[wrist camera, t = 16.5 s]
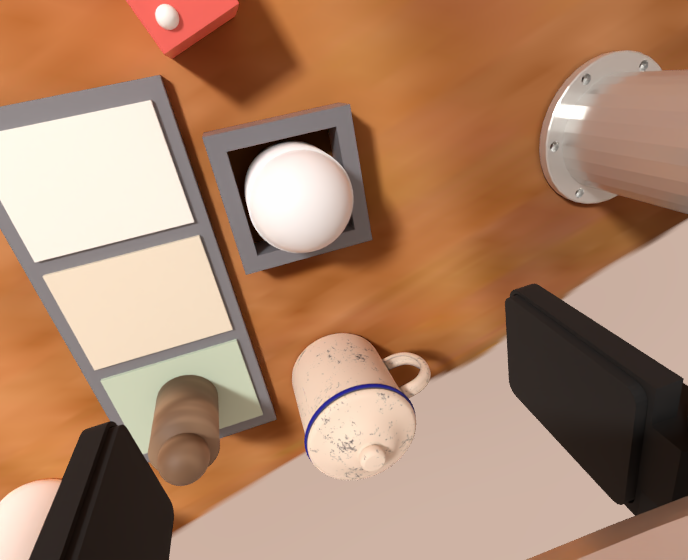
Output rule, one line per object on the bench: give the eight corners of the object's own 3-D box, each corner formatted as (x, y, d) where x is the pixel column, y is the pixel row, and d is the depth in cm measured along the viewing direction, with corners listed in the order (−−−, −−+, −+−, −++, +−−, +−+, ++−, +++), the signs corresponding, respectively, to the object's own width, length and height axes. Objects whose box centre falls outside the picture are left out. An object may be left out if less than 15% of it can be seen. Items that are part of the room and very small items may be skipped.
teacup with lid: (314, 423, 44) (344, 527, 34) (271, 359, 40) (290, 456, 29) (418, 366, 44) (479, 451, 34) (387, 297, 40) (446, 370, 30)
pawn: (208, 367, 37) (208, 439, 29) (225, 412, 39) (229, 489, 32) (147, 385, 36) (131, 464, 28) (168, 430, 38) (158, 514, 31)
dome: (328, 130, 31) (356, 141, 25) (346, 222, 34) (374, 252, 28) (231, 152, 30) (235, 170, 24) (258, 245, 33) (268, 282, 27)
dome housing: (338, 102, 32) (349, 104, 30) (361, 228, 37) (372, 239, 34) (203, 132, 31) (202, 137, 28) (243, 260, 35) (246, 274, 33)
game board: (160, 75, 29) (158, 75, 28) (275, 413, 42) (277, 421, 41) (-55, 118, 27) (-65, 119, 26) (137, 459, 40) (135, 468, 39)
